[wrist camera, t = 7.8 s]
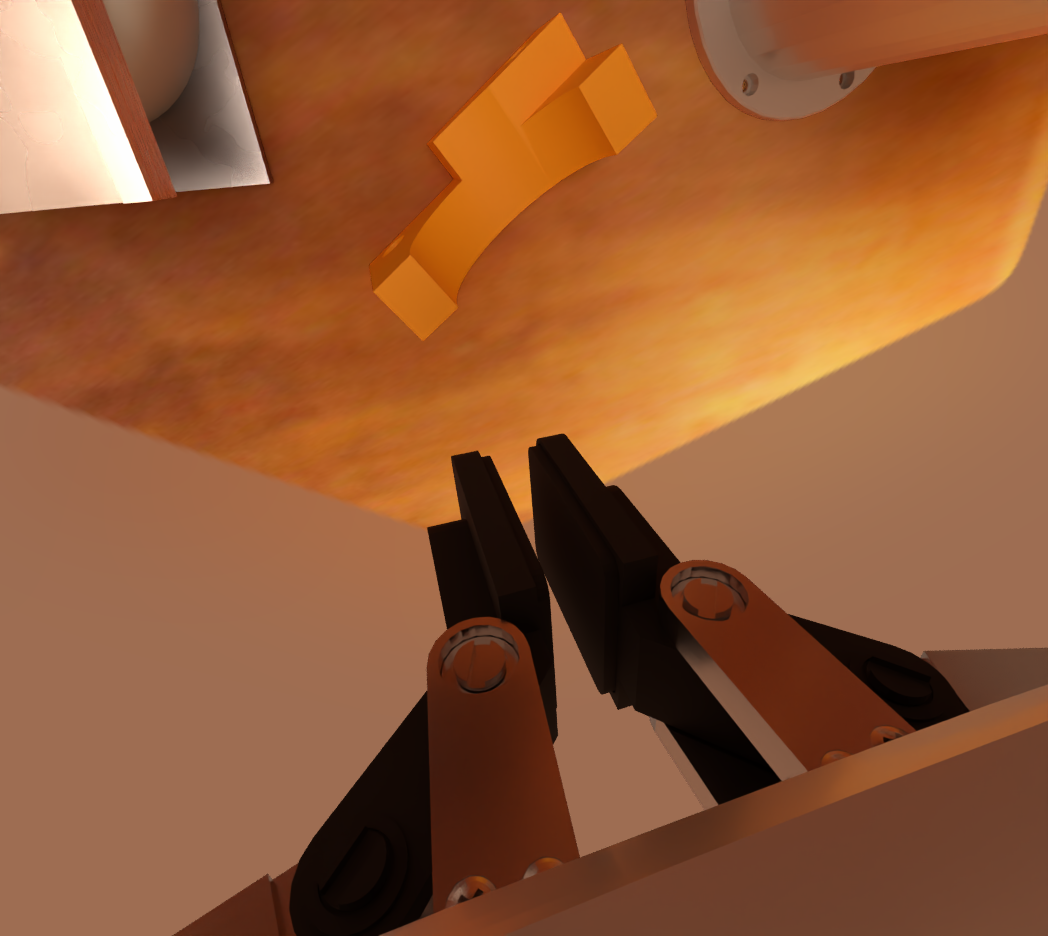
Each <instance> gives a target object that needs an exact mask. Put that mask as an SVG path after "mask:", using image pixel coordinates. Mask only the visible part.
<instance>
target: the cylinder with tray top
mask: <svg viewBox="0 0 1048 936" xmlns="http://www.w3.org/2000/svg"><path fill="white" fill-rule="evenodd" d="M269 183H273V181H272V177H271V174H270V170H269V167H268V163H267V160H266V157H265V153H264V150H263V146H262V143H261V139H260V136H259V132H258V129H257V126H256V122H255V119H254V115H253V112H252V108H251V105H250V101H249V98H248V95H247V91H246V88H245V84H244V81H243V77H242V74H241V70H240V67H239V64H238V60H237V57H236V53H235V50H234V46H233V43H232V39H231V36H230V33H229V29H228V26H227V22H226V19H225V15H224V12H223V8H222V5H221V2H220V0H0V214H4V213H15V212H26V211H36V210H47V209H58V208H69V207H80V206H90V205H101V204H112V203H123V204H126V203H136V202H147V201H155V200H161V199H167V198H173V197H177V195H176V192H181V191H192V190H203V189H214V188H225V187H236V186H247V185H258V184H269Z"/></svg>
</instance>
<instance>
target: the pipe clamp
mask: <svg viewBox="0 0 1048 936" xmlns="http://www.w3.org/2000/svg"><path fill="white" fill-rule="evenodd" d="M656 117H657V114H656V112H655V110H654V108H653V105H652V103H651V101H650V99H649V97H648V95H647V93H646V91H645V89H644V87H643V85H642V83H641V81H640V79H639V77H638V75H637V73H636V71H635V69H634V67H633V65H632V63H631V61H630V59H629V57H628V55H627V53H626V50H625V48H624V46H623V44H622V43H621V44H619V45H617V46H615V47H613V48H611V49H608V50H606V51H604V52H602V53H600V54H598V55H595V56H593V57H591V58H589V59H587V60H586V59H585V57H584V55H583V53H582V51H581V50H580V48H579V46H578V44H577V42H576V40H575V38H574V37H573V35H572V33H571V31H570V29H569V27H568V25H567V24H566V22H565V20H564V18H563V16H562V14H561V12H560V13H559V14H557V15H556V16H555V17H553V18H552V19H551V20H549V21H548V22H547V23H545V24H544V25H543V26H541V27H540V28H539V29H537V30H536V31H535V32H534V33H533V34H532V35H531V36H530V37H529V38H528V39H527V40H526V41H525V42H524V43H523V44H522V45H521V47H520V48H519V49H518V50H517V51H516V52H515V53H514V54H513V55H512V56H511V57H510V58H509V59H508V60H507V61H506V62H505V63H504V64H503V65H502V66H501V67H500V68H499V69H498V70H497V71H496V72H495V73H494V74H493V76H492V77H491V78H490V79H489V80H488V81H487V82H486V83H485V84H484V85H483V86H482V87H481V88H480V89H479V90H478V91H477V92H476V93H475V94H474V95H473V96H472V97H471V98H470V99H469V100H468V101H467V102H466V103H465V104H464V106H463V107H462V108H461V109H460V110H459V111H458V112H457V113H456V114H455V115H454V116H453V117H452V118H451V119H450V120H449V121H448V122H447V123H446V124H445V125H444V126H443V127H442V128H441V129H440V130H439V131H438V132H437V133H436V135H435V136H434V137H433V138H432V139H431V140H430V141H429V142H428V143H427V145H428V147H429V148H430V149H431V151H432V152H433V153H434V154H435V156H436V157H437V158H438V160H439V161H440V162H441V163H442V165H443V166H444V167H445V169H446V170H447V171H448V173H449V174H450V175H451V176H452V178H453V180H452V181H451V182H450V183H449V185H448V186H447V187H446V188H445V189H444V190H443V191H442V192H441V193H440V194H439V195H438V196H437V197H436V198H435V199H434V200H433V201H432V202H431V203H430V204H429V205H428V206H427V207H426V208H425V209H424V210H423V211H422V212H421V213H420V214H419V215H418V216H417V217H416V218H415V219H414V220H413V221H412V222H411V223H410V224H409V225H408V226H407V227H406V228H405V229H404V230H403V231H402V232H401V233H400V234H399V235H398V236H397V237H396V238H395V239H394V240H393V241H392V242H391V243H390V244H389V245H388V246H387V247H386V248H385V249H384V250H383V251H382V252H381V253H380V254H379V255H378V256H377V257H376V258H375V259H374V260H373V261H372V262H371V263H370V264H369V269H370V275H371V281H372V287H373V292H374V293H375V294H376V295H377V296H378V297H379V298H380V299H381V300H382V301H383V302H384V303H385V304H386V305H387V306H388V307H389V308H390V309H391V310H392V311H393V312H394V313H395V314H396V315H397V316H398V317H399V318H400V319H401V320H402V321H403V322H404V323H405V324H406V325H407V326H408V327H409V328H410V329H411V330H412V331H413V332H414V333H415V334H416V335H417V336H418V337H419V338H420V339H421V340H422V341H424V340H425V339H426V338H427V337H428V336H429V335H430V334H431V333H432V332H434V331H435V330H436V329H437V328H438V327H439V326H440V325H441V324H442V323H443V322H444V321H445V320H446V319H447V318H448V317H449V316H450V315H451V314H452V313H453V312H454V311H455V310H456V309H457V308H458V306H457V302H456V300H457V294H458V291H459V288H460V286H461V283H462V281H463V280H464V278H465V276H466V274H467V273H468V271H469V270H470V268H471V267H472V265H473V264H474V262H475V261H476V260H477V258H478V257H479V256H480V255H481V253H482V252H483V251H484V250H485V248H486V247H487V246H488V245H489V244H490V243H491V242H492V240H493V239H494V238H495V237H496V236H497V235H498V234H499V233H500V232H501V231H502V230H503V229H504V228H505V227H506V226H507V225H508V224H509V223H510V222H511V221H512V220H513V219H514V218H515V217H516V216H517V215H518V214H519V213H521V212H522V211H523V210H524V209H525V208H526V207H527V206H529V205H530V204H531V203H532V202H533V201H535V200H536V199H537V198H538V197H540V196H541V195H542V194H543V193H545V192H546V191H547V190H549V189H550V188H551V187H553V186H554V185H555V184H557V183H558V182H560V181H561V180H563V179H564V178H566V177H567V176H569V175H570V174H572V173H574V172H575V171H577V170H579V169H580V168H582V167H584V166H586V165H588V164H590V163H592V162H594V161H597V160H599V159H602V158H605V157H608V156H613V155H617V154H618V153H619V152H621V151H622V150H623V149H624V148H625V147H626V146H627V145H628V144H629V143H630V142H631V141H632V140H633V139H634V138H635V137H636V136H637V135H638V134H639V133H640V132H641V131H642V130H643V129H644V128H645V127H647V126H648V125H649V124H650V123H651V122H652V121H653V120H654V119H655V118H656Z"/></svg>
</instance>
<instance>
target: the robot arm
mask: <svg viewBox="0 0 1048 936" xmlns="http://www.w3.org/2000/svg"><path fill="white" fill-rule="evenodd" d="M685 3H686V10H687V16H688V22H689V28H690V32H691V36H692V39H693V42H694V45H695V48H696V51H697V54H698V57H699V60H700V62H701V64H702V66H703V68H704V70H705V71H706V73H707V75H708V77H709V79H710V81H711V82H712V84H713V85H714V86H715V87H716V89H717V90H718V91H719V92H720V93H721V94H722V96H723V97H724V98H725V99H726V100H727V101H728V102H729V103H731V104H732V105H733V106H735V107H736V108H738V109H739V110H741V111H742V112H744V113H746V114H748V115H751V116H754V117H757V118H759V119H763V120H776V121H784V120H791V119H800V118H804V117H807V116H810V115H813V114H816V113H819V112H822V111H824V110H826V109H827V108H829V107H831V106H833V105H834V104H836V103H838V102H839V101H841V100H843V99H844V98H845V97H846V96H848V95H849V94H850V93H851V92H852V91H853V90H855V89H856V88H857V87H858V86H859V85H860V84H862V83H863V82H864V81H865V80H866V78H867V77H868V76H869V75H870V74H871V73H872V72H873V70H874V69H875V68H876V67H877V66H882V65H887V64H892V63H897V62H903V61H908V60H913V59H918V58H923V57H929V56H934V55H939V54H944V53H950V52H955V51H960V50H965V49H970V48H976V47H981V46H986V45H991V44H997V43H1002V42H1007V41H1012V40H1017V39H1023V38H1028V37H1033V36H1038V35H1044V34H1048V0H685ZM839 78H840V81H839ZM743 81H745V84H746V87H745V90H744V91H743V90H742V84H743ZM528 456H529V469H530V482H531V494H532V507H533V519H534V530H535V531H534V532H535V544H536V552H537V556H538V558H537V556H536V554H535V552H534V550H533V548H532V546H531V543H530V541H529V539H528V537H527V535H526V533H525V530H524V528H523V526H522V524H521V522H520V519H519V517H518V515H517V513H516V511H515V509H514V506H513V504H512V502H511V500H510V498H509V496H508V493H507V491H506V489H505V487H504V485H503V483H502V480H501V478H500V476H499V474H498V472H497V469H496V467H495V465H494V463H493V461H492V459H491V457H490V456H485V457H481V456H480V453H479V452H478V451H474V452H469V453H464V454H459V455H454V456H451V460H452V467H453V473H454V478H455V484H456V490H457V496H458V502H459V507H460V513H461V519H462V520H458V521H453V522H449V523H445V524H440V525H436V526H431V527H427V529H428V535H429V540H430V545H431V550H432V555H433V560H434V565H435V570H436V575H437V580H438V585H439V591H440V596H441V601H442V606H443V611H444V616H445V621H446V626H447V630H446V631H445V632H444V633H443V634H442V635H441V636H440V637H439V638H438V639H437V640H436V641H435V643H434V645H433V647H432V649H431V651H430V653H429V656H428V662H427V691H426V692H425V694H424V695H423V696H422V698H421V699H420V700H419V702H418V703H417V704H416V705H415V707H414V708H413V709H412V711H411V712H410V713H409V715H408V716H407V717H406V718H405V720H404V721H403V722H402V723H401V725H400V726H399V727H398V729H397V730H396V731H395V733H394V734H393V735H392V737H391V738H390V739H389V740H388V742H387V743H386V744H385V745H384V747H383V748H382V749H381V751H380V752H379V753H378V755H377V756H376V757H375V759H374V760H373V761H372V762H371V764H370V765H369V766H368V767H367V769H366V770H365V771H364V773H363V774H362V775H361V777H360V778H359V779H358V780H357V782H356V783H355V784H354V786H353V787H352V788H351V789H350V791H349V792H348V793H347V795H346V796H345V797H344V799H343V800H342V801H341V802H340V804H339V805H338V806H337V808H336V809H335V810H334V812H333V813H332V814H331V815H330V817H329V818H328V819H327V821H326V822H325V823H324V824H323V826H322V827H321V828H320V830H319V831H318V832H317V834H316V835H315V836H314V837H313V839H312V841H311V842H310V844H309V845H308V847H307V849H306V850H305V852H304V854H303V855H302V857H301V858H300V860H299V863H298V864H296V865H294V866H293V867H291V868H290V869H288V870H287V871H285V872H284V873H282V874H281V875H279V876H278V877H276V878H274V879H272V878H271V877H270V876H269V874H266V875H265V876H263V877H262V878H260V879H259V880H257V881H256V882H254V883H252V884H251V885H249V886H248V887H246V888H245V889H243V890H242V891H240V892H239V893H237V894H235V895H234V896H233V897H231V898H229V899H228V900H226V901H225V902H223V903H222V904H220V905H219V906H217V907H216V908H214V909H213V910H211V911H209V912H208V913H206V914H205V915H203V916H202V917H200V918H199V919H197V920H195V921H194V922H192V923H191V924H189V925H188V926H186V927H185V928H183V929H182V930H180V931H179V932H177V933H176V934H174V935H172V936H1048V648H1022V649H1021V648H1020V649H984V650H983V649H982V650H946V651H945V650H944V651H924V652H923V654H922V655H921V657H920V658H919V657H918V656H916V655H914V654H913V653H911V652H908V651H906V650H903V649H901V648H898V647H896V646H893V645H890V644H886V643H883V642H880V641H876V640H873V639H870V638H866V637H863V636H860V635H856V634H853V633H850V632H846V631H843V630H839V629H836V628H833V627H830V626H826V625H823V624H820V623H816V622H813V621H810V620H806V619H803V618H800V617H796V616H793V615H790V614H787V613H786V612H785V611H784V610H782V609H781V608H780V607H779V606H778V605H777V604H776V603H775V602H774V601H773V600H771V599H770V598H769V597H768V596H767V595H766V594H765V593H763V591H761V590H760V589H759V588H758V587H757V586H756V585H755V584H754V583H753V582H751V581H750V580H749V579H748V578H747V577H746V576H744V575H743V574H741V573H740V572H738V571H737V570H736V569H734V568H731V567H729V566H726V565H724V564H722V563H718V562H713V561H708V560H691V561H686V562H682V563H680V561H679V560H678V559H677V558H676V557H675V556H674V554H673V553H672V552H671V551H670V549H669V548H668V547H667V546H666V544H665V543H664V542H663V541H662V539H661V538H660V537H659V536H658V534H657V533H656V532H655V531H654V530H653V529H652V527H651V526H650V525H649V523H648V522H647V521H646V520H645V518H644V517H643V516H642V515H641V514H640V512H639V511H638V510H637V509H636V507H635V506H634V505H633V504H632V503H631V502H630V500H629V499H628V498H627V497H626V495H625V494H624V493H623V492H622V491H621V489H620V488H618V487H617V486H615V485H612V486H607V487H606V486H605V485H604V484H603V483H602V481H601V480H600V479H599V477H598V476H597V475H596V474H595V472H594V471H593V470H592V468H591V467H590V466H589V465H588V463H587V462H586V461H585V459H584V458H583V457H582V456H581V454H580V453H579V452H578V450H577V449H576V448H575V446H574V445H573V444H572V443H571V441H570V440H569V439H568V437H567V436H566V435H565V434H558V435H553V436H548V437H543V438H538V439H537V441H536V446H534V447H529V450H528ZM538 560H539V561H538ZM544 574H545V575H544ZM545 576H546V578H547V581H548V582H549V585H550V587H551V589H552V592H553V594H554V596H555V598H556V600H557V602H558V604H559V607H560V609H561V611H562V613H563V615H564V618H565V620H566V622H567V624H568V626H569V628H570V631H571V633H572V635H573V637H574V639H575V641H576V643H577V646H578V648H579V650H580V652H581V654H582V657H583V659H584V661H585V663H586V665H587V667H588V670H589V672H590V674H591V676H592V678H593V680H594V682H595V684H596V687H597V689H598V690H599V692H600V694H605V693H608V692H609V693H610V694H611V697H612V699H613V700H614V703H615V705H616V707H617V709H618V710H619V709H622V708H625V707H628V706H631V705H633V707H634V709H635V710H636V711H638V712H640V713H643V714H645V715H647V716H649V718H650V722H651V725H652V727H653V729H654V731H655V733H656V735H657V736H658V738H659V739H660V741H661V743H662V744H663V746H664V747H665V749H666V750H667V752H668V754H669V755H670V757H671V758H672V760H673V761H674V763H675V764H676V766H677V768H678V769H679V771H680V772H681V774H682V775H683V777H684V779H685V780H686V782H687V783H688V785H689V786H690V788H691V789H692V791H693V793H694V794H695V796H696V797H697V799H698V801H699V802H700V804H701V805H702V807H703V808H704V811H702V812H700V813H697V814H694V815H691V816H688V817H686V818H683V819H681V820H678V821H676V822H673V823H670V824H667V825H665V826H662V827H659V828H657V829H654V830H651V831H649V832H646V833H643V834H641V835H638V836H636V837H633V838H630V839H628V840H625V841H622V842H620V843H617V844H615V845H612V846H609V847H607V848H604V849H601V850H599V851H596V852H593V853H591V854H588V855H586V856H583V857H581V858H580V855H579V851H578V847H577V843H576V839H575V835H574V830H573V826H572V822H571V818H570V814H569V809H568V806H567V801H566V798H565V793H564V789H563V785H562V780H561V776H560V772H559V768H558V764H557V759H556V755H555V751H554V748H553V744H554V742H555V740H556V738H557V736H558V729H557V714H556V708H557V701H556V685H555V669H554V654H553V640H552V624H551V609H550V597H549V590H548V585H547V581H546V578H545Z"/></svg>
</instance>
